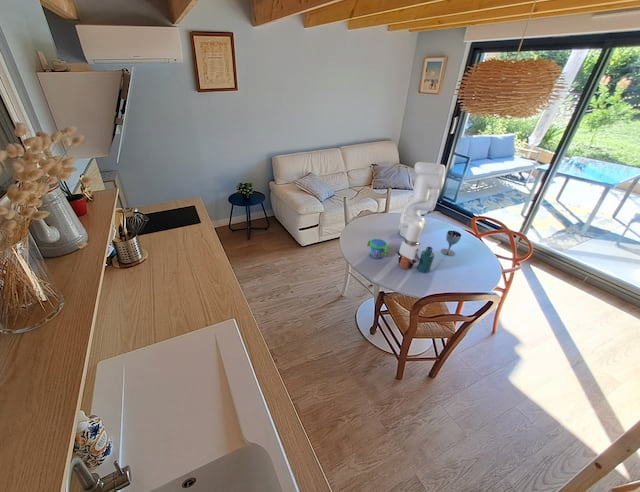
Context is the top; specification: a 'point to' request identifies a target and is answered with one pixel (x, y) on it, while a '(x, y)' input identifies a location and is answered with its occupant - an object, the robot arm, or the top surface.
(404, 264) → the cup
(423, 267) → the bottle
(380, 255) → the snack cup
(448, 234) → the wine glass
